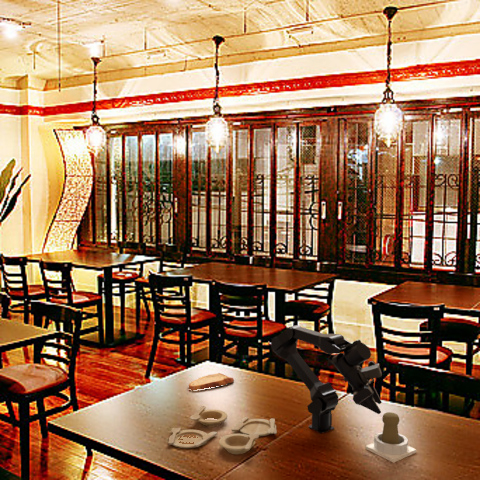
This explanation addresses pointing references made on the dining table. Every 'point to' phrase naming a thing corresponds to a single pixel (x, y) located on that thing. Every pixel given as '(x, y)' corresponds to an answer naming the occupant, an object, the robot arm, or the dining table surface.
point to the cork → (390, 428)
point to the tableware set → (229, 442)
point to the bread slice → (210, 381)
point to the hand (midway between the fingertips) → (380, 408)
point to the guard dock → (389, 457)
